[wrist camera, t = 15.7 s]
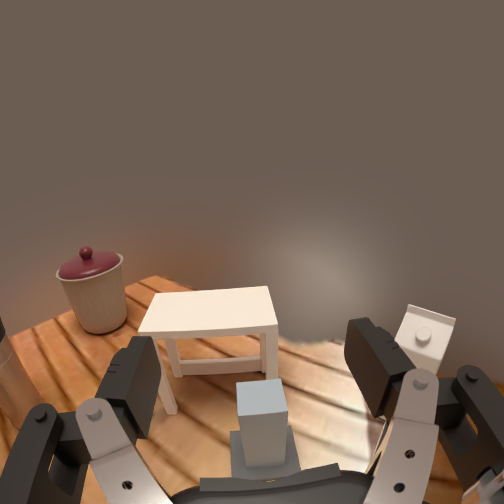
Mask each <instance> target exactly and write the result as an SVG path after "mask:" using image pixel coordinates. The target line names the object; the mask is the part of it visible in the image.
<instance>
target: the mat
mask: <svg viewBox="0 0 504 504" xmlns="http://www.w3.org/2000/svg"><path fill="white" fill-rule="evenodd" d="M230 444H231V470H232V477H235V478H242V479H249V480H257V481H270V480H278V479H281V478H284V477H287V476H290V475H292V474H295V473H298V472H300V471H301V468H300V464H299V459H298V455H297V451H296V446H295V442H294V437H293V433H292V428H291V425H290V426H287V437H286V451H285V465H280V466H271V467H261V468H250V469H247V467H246V462H245V456H244V450H243V444H242V438H241V432H240V431H230Z"/></svg>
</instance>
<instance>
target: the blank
mask: <svg viewBox="0 0 504 504" xmlns="http://www.w3.org/2000/svg"><path fill="white" fill-rule="evenodd" d="M236 387H237V407H238V419H239V426H240V432H241V438H242V444H243V450H244V456H245V462H246V467H247V469H250V468H261V467H271V466H280V465H285V451H286V437H287V421H288V408H287V404H286V400H285V395H284V391H283V386H282V382H281V378H280V379H271V380H261V381H250V382H237V383H236Z"/></svg>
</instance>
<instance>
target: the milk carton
mask: <svg viewBox="0 0 504 504" xmlns="http://www.w3.org/2000/svg"><path fill="white" fill-rule="evenodd" d="M455 320H456V319H454V318H451V317H448V316H445V315H442V314H438V313H435V312H432V311H429V310H426V309H423V308H420V307H416V306H413V305H410V304H409V305H408V308H407V312H406V315H405V317H404V319H403V322H402V324H401V326H400V329H399V331H398V333H397V336H396V338H395V342H397V343H398V344H399V346H400V348H402V350H403V351H404V352H405V353H406V355H407V356H408V357H409V359H410V360H411V361H412V362H413V364H414V365H415V366H416V368H421V369H426V370H429V371H431V372H432V373H434V374H435V375H436V373H437V371H438V368H439V366H440V363H441V361H442V358H443V356H444V353H445V351H446V348H447V345H448V343H449V340H450V337H451V334H452V331H453V327H454V323H455ZM371 414H372V413H371ZM379 418H381V419H383V420H386V418H385V416H384V415H383V416H380V417H379Z"/></svg>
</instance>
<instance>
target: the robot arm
mask: <svg viewBox="0 0 504 504" xmlns="http://www.w3.org/2000/svg"><path fill="white" fill-rule="evenodd" d="M344 357H345V361H346V363H347V365H348V367H349V369H350V371H351V373H352V375H353V377H354V379H355V381H356V383H357V385H358V387H359V389H360V391H361V393H362V395H363V397H364V399H365V401H366V403H367V405H368V407H369V409H370V411H371V413H372V415H373V417H374V418H377V417H380V416H383V415H384V416H385V418H386V422H385V424H384V427H383V429H382V432H381V435H380V438H379V441H378V443H377V446H376V449H375V451H374V454H373V456H372V459H371V461H370V463H369V465H368V467H367V469H366V471H365V473H361V472H356V471H348V470H340V469H339V466H338V463H334V464H330V465H326V466H321V467H316V468H311V469H305V470H303V471H300V472H298V473H295V474H292V475H290V476H287V477H284V478H281V479H278V480H275V481H271V482H266V481H257V480H249V479H242V478H235V477H229V478H200V486H195V487H191V488H188V489H185V490H183V491H180V492H178V493H177V494H175V495H173V496H172V497H171V496H170V494H169V493H168V492H167V491H166V489H165V488H164V487H163V486H162V484H161V483H160V482H159V480H158V479H157V478H156V476H155V475H154V473H153V472H152V470H151V469H150V468H149V466H148V465H147V463H146V462H145V460H144V459H143V457H142V456H141V454H140V452H139V451H138V449H137V448H136V446H135V445H136V441H137V439H147V437H148V432H149V427H150V423H151V418H152V414H153V410H154V405H155V401H156V397H157V393H158V388H159V384H160V380H161V366H160V362H159V359H158V356H157V352H156V349H155V346H154V342H153V339H152V337H151V336H133V337H132V338H131V340H130V342H129V345H128V347H127V348H121V349H120V350H119V351H118V352H117V353H116V354H115V355H114V356H113V358H112V360H111V363H110V366H109V367H108V369H107V373H105V375H104V377H103V380H102V382H101V384H100V386H99V388H98V391H97V393H96V395H95V398H92V399H88V400H86V401H84V402H83V403H81V404H80V405H79V407H78V408H77V410H76V411H75V412H66V413H58V412H57V411H56V409H55V408H54V407H53V406H52V405H50V404H47V403H45V402H44V400H43V399H42V397H41V396H40V394H39V392H38V391H37V389H36V387H35V386H34V384H33V383H32V381H31V379H30V377H29V376H28V374H27V372H26V370H25V369H24V367H23V365H22V363H21V361H20V359H19V358H18V356H17V354H16V352H15V350H14V348H13V346H12V344H11V342H10V340H9V337H8V335H7V333H6V331H5V329H4V326H3V324H2V321H1V318H0V407H1V408H2V410H3V411H4V412H5V414H6V415H7V416H8V418H9V419H10V420H11V422H12V423H13V424H14V425H15V427H16V428H18V429H19V430H20V431H19V433H18V435H17V437H16V440H15V442H14V444H13V447H12V449H11V451H10V454H9V456H8V459H7V461H6V464H5V467H4V469H3V472H2V475H1V477H0V504H80V502H81V496H82V491H83V487H84V482H85V477H86V473H87V469H88V464H90V466H91V468H92V471H93V473H94V475H95V477H96V479H97V481H98V483H99V485H100V487H101V489H102V491H103V493H104V495H105V497H106V499H107V501H108V502H109V504H429V503H427V502H425V501H423V497H424V494H425V491H426V487H427V483H428V480H429V476H430V472H431V468H432V463H433V459H434V454H435V449H436V443H437V438H438V439H439V441H440V443H441V445H442V447H443V449H444V451H445V453H446V455H447V457H448V459H449V461H450V463H451V465H452V467H453V469H454V471H455V473H456V475H457V477H458V479H459V481H460V484H461V486H462V488H463V490H464V492H465V493H464V495H463V498H462V504H504V397H503V396H502V395H501V393H500V392H499V391H498V389H497V388H496V387H495V386H494V384H493V383H492V382H491V381H490V379H489V378H488V377H487V376H486V375H485V374H484V372H483V371H482V370H481V369H479V368H478V367H475V366H471V365H466V366H462V367H461V368H459V369H458V371H457V373H456V375H455V377H449V378H437V377H436V375H435V374H434V373H432V372H431V371H429V370H426V369H421V368H416V366H415V365H414V364H413V362H412V361H411V360H410V359H409V357H408V356H407V355H406V353H405V352H404V351H403V350H402V348H400V346H399V344H398V343H397V342H395V339H394V338H393V337H392V336H391V335H390V333H389V332H387V331H386V330H384V329H382V328H381V327H375V326H374V325H373V323H372V322H371V321H370V319H369V318H367V317H364V318H359V319H352V320H350V321H349V323H348V327H347V334H346V341H345V347H344ZM467 414H469V416H470V417H471V419H472V420H473V422H474V424H475V425H476V427H477V430H478V436H477V434H476V433H475V431H474V429H473V428H472V426H471V425H470V423H469V421H468V420H467V418H466V416H467ZM53 454H54V457H53ZM52 457H53V460H52ZM51 460H52V464H51V467H50V470H49V473H48V469H49V466H50V463H51Z"/></svg>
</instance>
